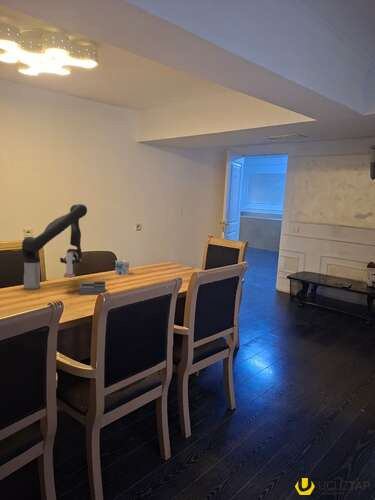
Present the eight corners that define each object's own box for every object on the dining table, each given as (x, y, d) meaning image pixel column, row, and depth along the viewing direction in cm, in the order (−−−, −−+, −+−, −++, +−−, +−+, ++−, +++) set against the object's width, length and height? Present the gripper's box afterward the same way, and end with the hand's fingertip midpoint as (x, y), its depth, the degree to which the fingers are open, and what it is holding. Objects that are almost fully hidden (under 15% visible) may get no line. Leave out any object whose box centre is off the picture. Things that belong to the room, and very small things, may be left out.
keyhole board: (78, 294, 216) (78, 286, 216) (80, 289, 228) (80, 281, 227) (105, 294, 220) (105, 285, 219) (105, 289, 232) (105, 281, 231)
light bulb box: (115, 274, 275) (115, 261, 274) (115, 273, 282) (115, 260, 280) (129, 274, 278) (129, 261, 276) (128, 272, 284) (128, 260, 283)
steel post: (63, 277, 215) (64, 253, 213) (65, 275, 221) (65, 252, 219) (73, 277, 217) (74, 253, 215) (74, 275, 223) (75, 252, 221)
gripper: (60, 252, 229) (57, 256, 213) (82, 252, 233) (81, 256, 216) (60, 263, 230) (57, 268, 214) (82, 263, 234) (80, 268, 217)
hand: (69, 262), depth 215 cm, fingers closed on steel post, 3 cm apart
